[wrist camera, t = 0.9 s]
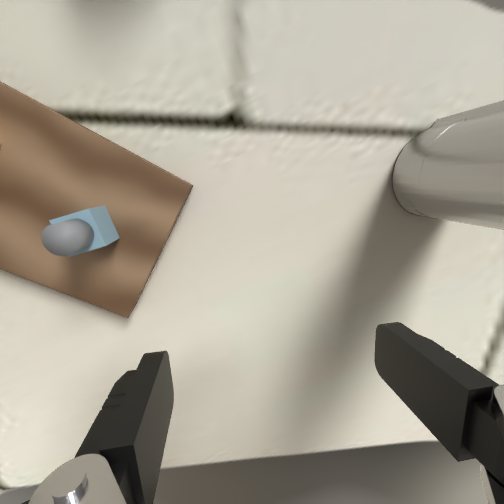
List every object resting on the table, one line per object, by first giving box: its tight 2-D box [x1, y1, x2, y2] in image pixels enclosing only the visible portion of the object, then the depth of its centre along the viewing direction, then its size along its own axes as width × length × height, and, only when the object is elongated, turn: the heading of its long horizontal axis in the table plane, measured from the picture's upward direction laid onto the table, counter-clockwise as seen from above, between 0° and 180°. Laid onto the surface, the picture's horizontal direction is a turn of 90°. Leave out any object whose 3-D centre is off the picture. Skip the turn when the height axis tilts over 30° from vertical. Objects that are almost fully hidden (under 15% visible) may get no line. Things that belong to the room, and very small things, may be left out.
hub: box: [41, 205, 120, 257], centre depth 21 cm, size 3×3×6 cm
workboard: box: [0, 82, 193, 318], centre depth 20 cm, size 15×24×8 cm, turn 61°
